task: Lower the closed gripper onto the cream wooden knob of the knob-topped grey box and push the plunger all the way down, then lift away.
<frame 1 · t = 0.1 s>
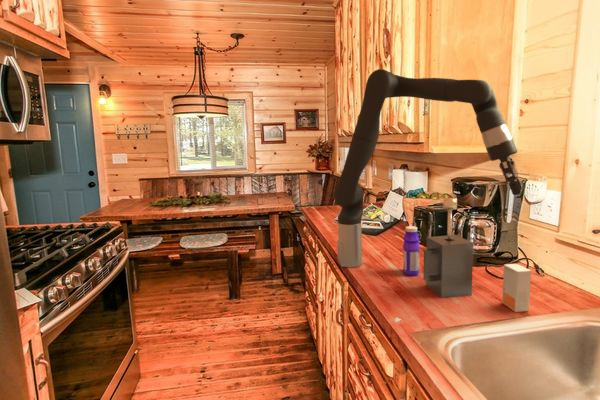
hand: (517, 192, 109), 31 cm above the worktop, tool tilted 20°, fingers open, 8 cm apart
knob-topped grey box: (448, 290, 116), on the worktop
plunger: (449, 228, 113), point 20 cm above the worktop, slide at 9.0 cm
skincare box: (515, 307, 103), on the worktop
bottle: (411, 273, 132), on the worktop
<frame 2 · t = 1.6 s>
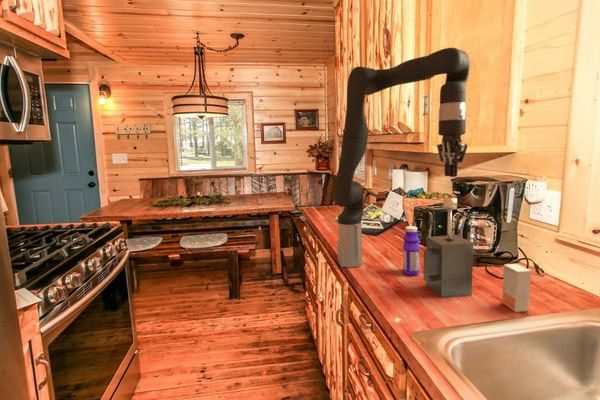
hand: (450, 176, 111), 37 cm above the worktop, tool pointing down, fingers closed
nothing on the worktop moved.
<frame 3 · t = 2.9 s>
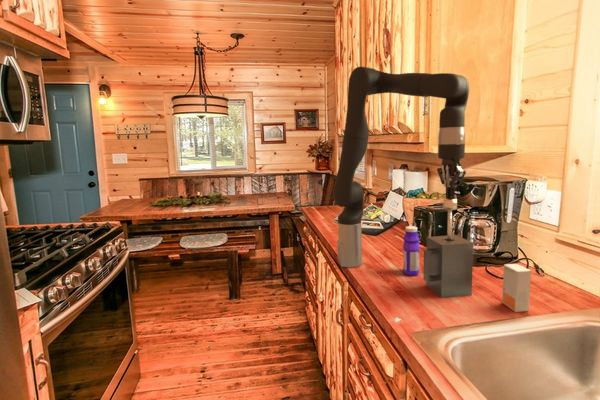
hand: (450, 199, 112), 30 cm above the worktop, tool pointing down, fingers closed
plunger: (449, 229, 113), point 20 cm above the worktop, slide at 8.9 cm, touching gripper
everything else where it was.
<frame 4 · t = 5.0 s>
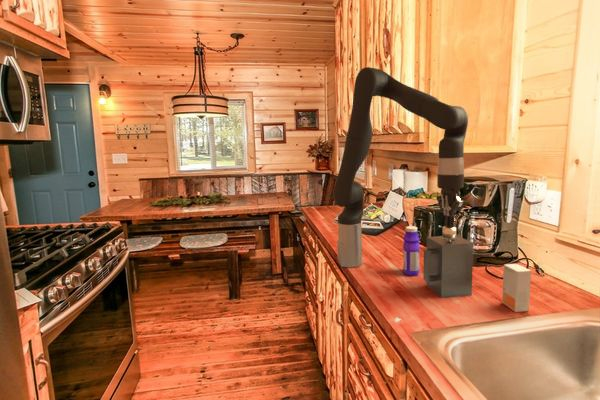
hand: (449, 227, 113), 21 cm above the worktop, tool pointing down, fingers closed
plunger: (448, 256, 115), point 11 cm above the worktop, slide at -0.1 cm, touching gripper
everything else where it was.
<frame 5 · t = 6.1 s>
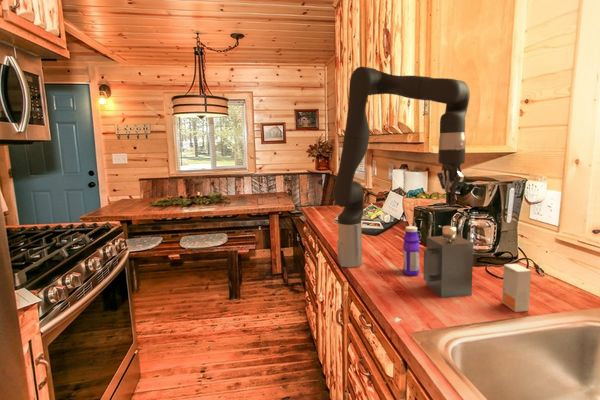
hand: (450, 203, 112), 28 cm above the worktop, tool pointing down, fingers closed
plunger: (448, 256, 115), point 11 cm above the worktop, slide at -0.1 cm
everything else where it was.
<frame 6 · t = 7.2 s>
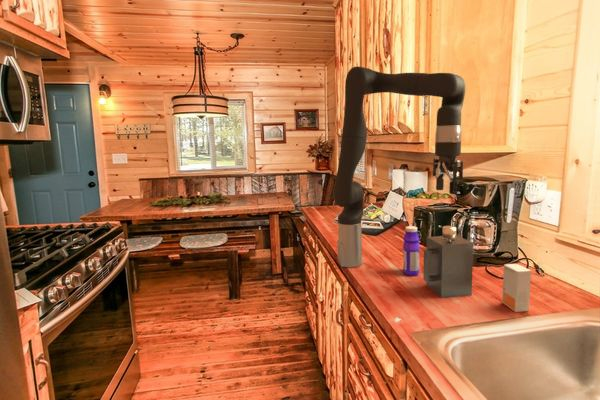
hand: (446, 191, 115), 32 cm above the worktop, tool pointing down, fingers open, 8 cm apart
nothing on the worktop moved.
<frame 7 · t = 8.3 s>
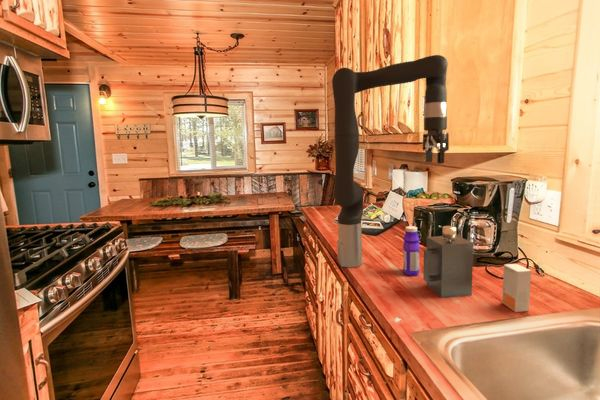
hand: (434, 162, 128), 40 cm above the worktop, tool pointing down, fingers open, 8 cm apart
nothing on the worktop moved.
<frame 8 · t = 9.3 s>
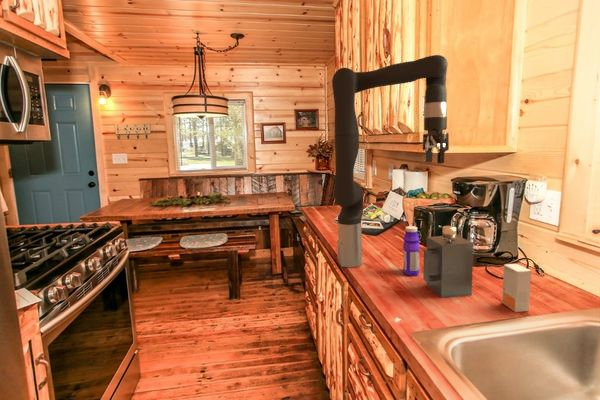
hand: (434, 162, 128), 40 cm above the worktop, tool pointing down, fingers open, 8 cm apart
nothing on the worktop moved.
at the end: plunger slide at -0.1 cm; the gripper is holding nothing; bottle moved 0.2 cm from its start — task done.
